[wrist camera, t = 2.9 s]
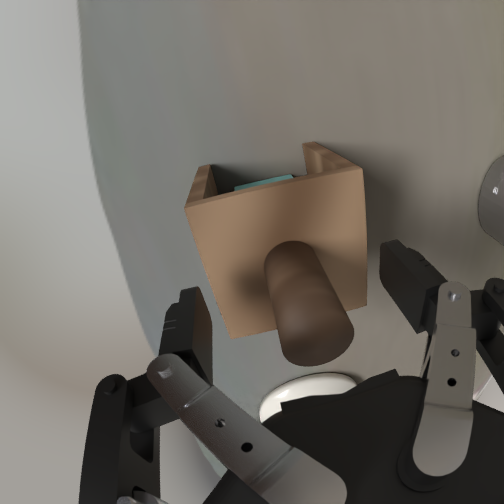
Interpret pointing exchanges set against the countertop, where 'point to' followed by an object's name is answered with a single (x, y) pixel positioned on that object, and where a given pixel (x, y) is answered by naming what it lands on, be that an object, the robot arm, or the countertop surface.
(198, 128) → the countertop surface
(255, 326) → the brown forked piece
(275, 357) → the countertop surface
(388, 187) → the countertop surface
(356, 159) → the countertop surface
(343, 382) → the saucer
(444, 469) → the robot arm
